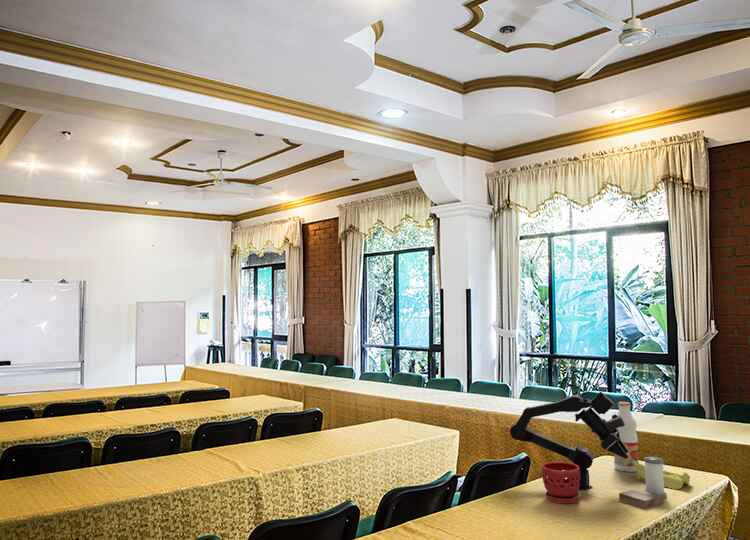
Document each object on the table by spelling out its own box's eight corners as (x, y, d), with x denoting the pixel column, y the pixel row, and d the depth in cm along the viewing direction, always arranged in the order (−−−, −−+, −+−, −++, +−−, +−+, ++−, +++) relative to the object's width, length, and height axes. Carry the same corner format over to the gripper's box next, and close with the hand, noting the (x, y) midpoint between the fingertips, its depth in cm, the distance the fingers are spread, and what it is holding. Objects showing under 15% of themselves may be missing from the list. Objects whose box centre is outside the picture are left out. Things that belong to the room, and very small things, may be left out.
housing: (658, 499, 208) (656, 462, 209) (639, 494, 214) (637, 458, 215) (671, 496, 212) (669, 459, 213) (652, 491, 218) (650, 455, 219)
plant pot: (564, 492, 217) (563, 459, 218) (589, 503, 204) (588, 468, 205) (534, 496, 212) (534, 462, 213) (557, 507, 200) (557, 471, 201)
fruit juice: (615, 465, 255) (613, 400, 257) (639, 468, 250) (636, 401, 253) (613, 470, 246) (611, 403, 248) (638, 473, 242) (635, 404, 244)
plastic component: (691, 478, 227) (684, 471, 221) (688, 497, 225) (680, 490, 219) (639, 465, 241) (631, 458, 235) (635, 482, 239) (627, 476, 233)
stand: (644, 508, 199) (644, 500, 199) (619, 500, 208) (619, 493, 208) (662, 503, 204) (662, 496, 204) (637, 495, 213) (637, 488, 213)
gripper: (609, 412, 213) (644, 446, 207) (611, 404, 230) (643, 436, 224) (587, 432, 215) (620, 466, 210) (590, 423, 232) (621, 454, 227)
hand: (627, 455), depth 218 cm, fingers open, 9 cm apart
